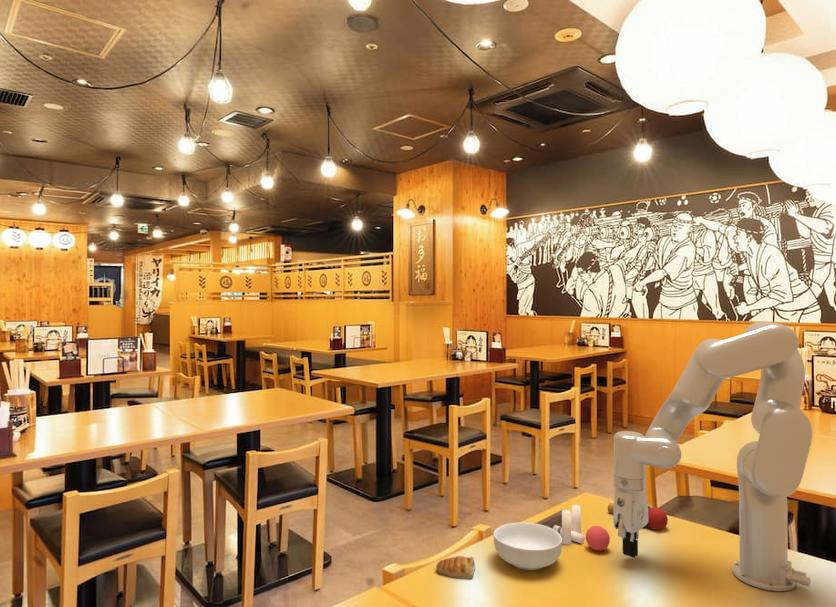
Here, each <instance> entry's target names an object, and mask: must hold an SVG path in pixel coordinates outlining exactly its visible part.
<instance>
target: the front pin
mask: <svg viewBox="0 0 836 607" xmlns="http://www.w3.org/2000/svg"><path fill="white" fill-rule="evenodd" d="M553 529H554V530H556V531H557V532H558V533H559V534H560V535H561V537H562V527H560V526H557V525H554V526H553ZM585 540H586V536H585V534H583V533H581V534H580V533H577V532H574V531H572V530H571V542H572V541H573V542H576V543H578V544H581V545H583V544H584V542H585Z"/></svg>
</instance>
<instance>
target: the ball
mask: <svg viewBox="0 0 836 607" xmlns="http://www.w3.org/2000/svg"><path fill="white" fill-rule="evenodd" d="M610 538H611V537H610V535H609V532H608V531H607V530H606V529H605V528H604V527H603V526H600V525H592V526H590V527H589V528H588V529H587V531H586V533H585V540H586V543H587V545H588V546H589V548H591V549H593V550H595V551H600V552H601V551H604V550H606V549H607V548H608V547H609V545H610V541H611V540H610Z"/></svg>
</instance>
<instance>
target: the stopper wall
mask: <svg viewBox="0 0 836 607" xmlns="http://www.w3.org/2000/svg"><path fill="white" fill-rule="evenodd" d="M562 510H563V509H562ZM562 510H559V511H557V512H554V513H553V514H551V515H549V516H547V517H545V518H543V519H541V520H539V521H536V522H535V524H540V525H544V526H547V527H550V528H552V529H553V526H554V525H557V526H560V527H562Z"/></svg>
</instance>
